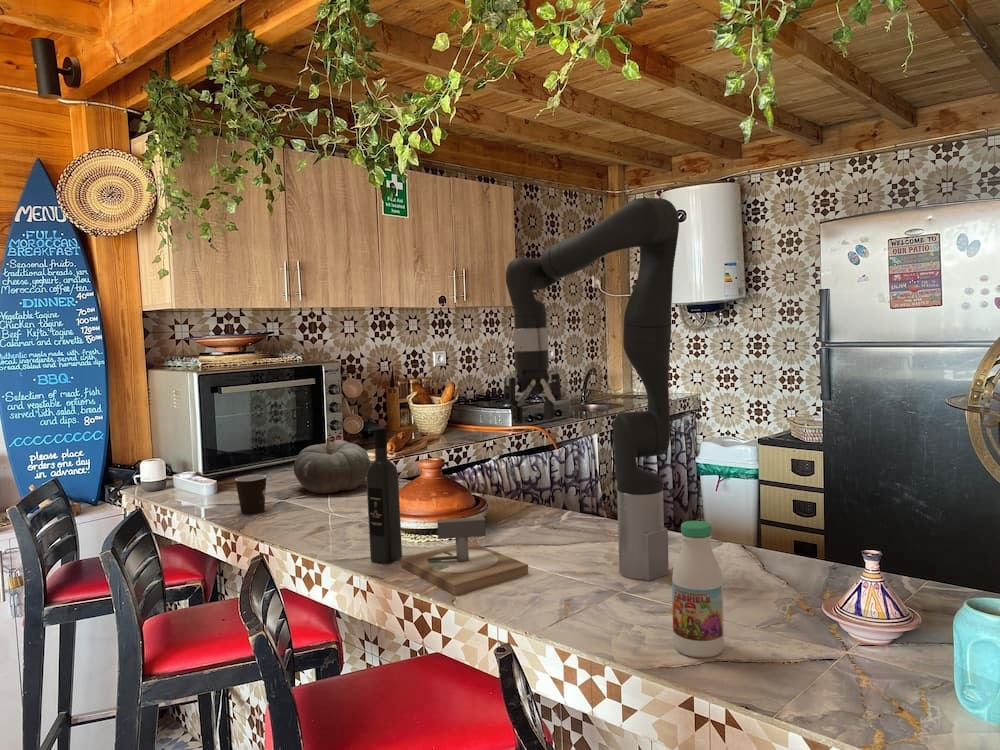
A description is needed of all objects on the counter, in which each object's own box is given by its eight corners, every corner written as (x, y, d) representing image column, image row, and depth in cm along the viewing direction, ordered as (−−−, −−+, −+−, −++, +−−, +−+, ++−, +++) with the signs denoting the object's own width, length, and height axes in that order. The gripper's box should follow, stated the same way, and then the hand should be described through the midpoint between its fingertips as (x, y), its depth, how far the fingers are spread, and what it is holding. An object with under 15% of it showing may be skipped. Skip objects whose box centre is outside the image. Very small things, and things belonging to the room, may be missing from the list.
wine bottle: (388, 565, 163) (381, 430, 160) (368, 561, 165) (361, 429, 163) (404, 557, 168) (397, 426, 165) (384, 554, 170) (377, 425, 168)
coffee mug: (256, 516, 210) (253, 481, 209) (231, 514, 213) (228, 480, 212) (280, 506, 221) (278, 473, 220) (256, 504, 224) (254, 472, 223)
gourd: (351, 469, 261) (348, 422, 256) (388, 491, 242) (385, 441, 237) (284, 488, 245) (279, 439, 241) (317, 513, 227) (313, 461, 222)
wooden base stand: (528, 573, 153) (527, 562, 153) (455, 595, 143) (454, 583, 143) (470, 549, 171) (469, 539, 171) (401, 567, 161) (400, 556, 161)
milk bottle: (674, 635, 121) (672, 516, 120) (723, 639, 119) (721, 518, 117) (671, 656, 114) (668, 529, 112) (724, 661, 111) (721, 531, 110)
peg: (485, 555, 159) (484, 516, 158) (486, 559, 156) (484, 519, 155) (427, 559, 158) (425, 520, 157) (427, 563, 155) (425, 523, 154)
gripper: (515, 350, 156) (518, 426, 157) (566, 347, 164) (569, 419, 165) (495, 350, 162) (498, 423, 163) (545, 347, 170) (547, 416, 172)
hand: (533, 421), depth 164 cm, fingers open, 8 cm apart
